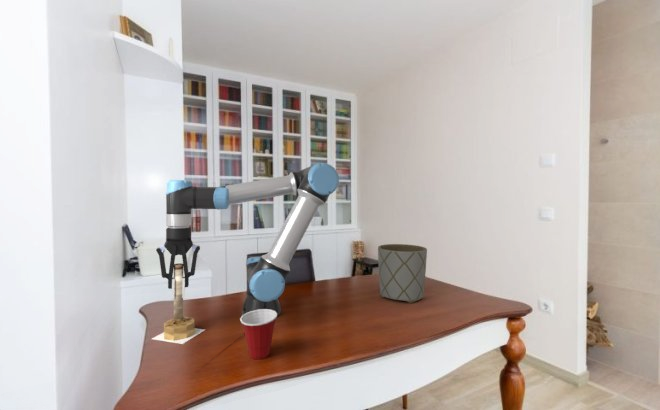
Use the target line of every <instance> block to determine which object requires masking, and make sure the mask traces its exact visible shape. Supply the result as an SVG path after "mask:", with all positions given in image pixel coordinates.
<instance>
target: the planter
mask: <svg viewBox="0 0 660 410" xmlns="http://www.w3.org/2000/svg"><path fill="white" fill-rule="evenodd" d="M427 254H428V249H427V247H425V246H420V245H417V244H416V245H414V244H403V243H401V244H399V243H390V244H389V243H387V244H382V245H378V246H377V258H378V259H377V260H378V264H377V265H378V280H379V281H378V283H379V294H380V297H381V298H382V299H384V298H388V299H391V300H395V301H404V302H407V303H408V304H412V303H415V302H418V301H419V300H422V299H423V298H424V294H425V283H426V271H427V270H426V269H427V258H428V255H427Z"/></svg>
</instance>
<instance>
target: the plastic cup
mask: <svg viewBox="0 0 660 410" xmlns="http://www.w3.org/2000/svg"><path fill="white" fill-rule="evenodd" d="M277 317H278V316H277V313H276V311H274V310H271V309H258V310H254V311H250V312H248V313H245V314H244V315H243V316H242V315H241V317H239V320H240V323H241V325H242V326H243V330H244V335H245V341H246V345H247V350H248V354H249V357H250V359H252V360H262V359H265V358H268V356H269V355H270V352H271V347H272V346H271V345H272V341H273V335H274V328H275V324H276V323H275V322H276V319H277Z"/></svg>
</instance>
